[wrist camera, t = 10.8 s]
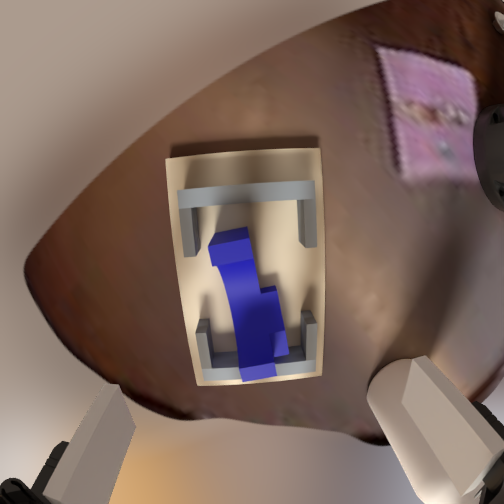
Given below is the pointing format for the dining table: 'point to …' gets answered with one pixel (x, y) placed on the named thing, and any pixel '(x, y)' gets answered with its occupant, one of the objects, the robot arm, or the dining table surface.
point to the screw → (499, 22)
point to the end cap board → (263, 247)
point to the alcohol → (411, 438)
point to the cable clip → (249, 305)
